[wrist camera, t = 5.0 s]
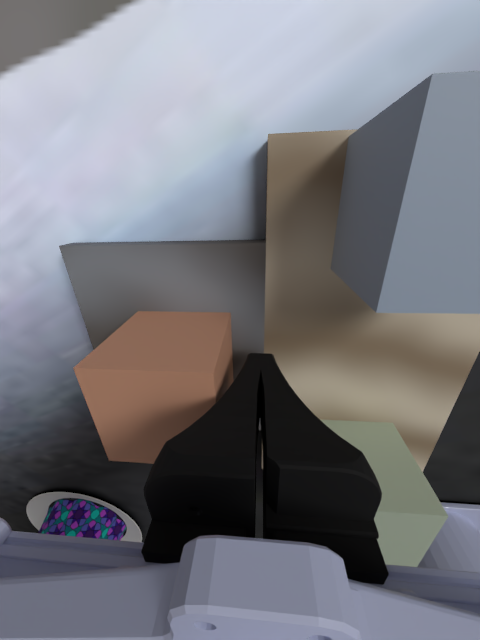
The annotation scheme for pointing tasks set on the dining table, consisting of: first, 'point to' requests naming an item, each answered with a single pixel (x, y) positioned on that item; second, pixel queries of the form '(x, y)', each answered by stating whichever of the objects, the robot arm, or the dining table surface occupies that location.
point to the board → (293, 302)
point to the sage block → (396, 491)
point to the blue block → (415, 202)
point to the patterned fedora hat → (80, 518)
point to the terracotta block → (156, 379)
